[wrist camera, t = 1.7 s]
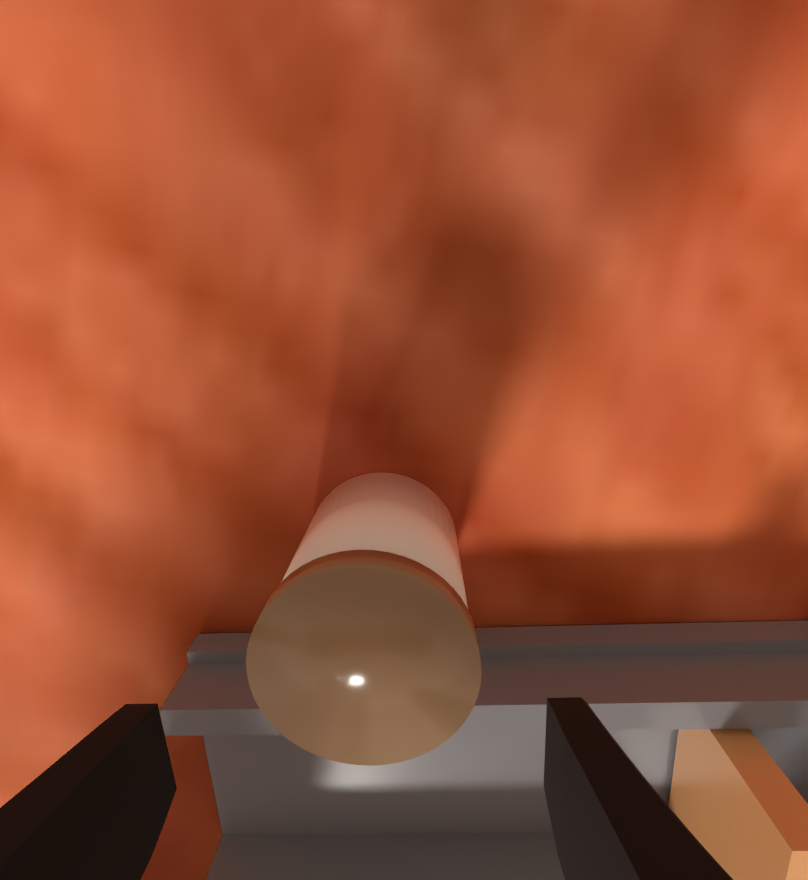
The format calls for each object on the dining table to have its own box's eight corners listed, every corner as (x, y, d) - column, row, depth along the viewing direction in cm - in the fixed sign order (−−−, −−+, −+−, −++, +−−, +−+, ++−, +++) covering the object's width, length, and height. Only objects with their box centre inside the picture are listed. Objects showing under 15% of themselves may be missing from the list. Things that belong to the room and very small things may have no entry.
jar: (315, 608, 18) (261, 766, 12) (300, 472, 16) (230, 572, 10) (460, 605, 17) (482, 764, 11) (457, 466, 16) (480, 565, 10)
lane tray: (236, 835, 21) (165, 1043, 15) (198, 633, 18) (94, 791, 12) (823, 833, 20) (993, 1054, 14) (877, 618, 17) (1114, 782, 11)
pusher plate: (665, 831, 18) (753, 1021, 13) (683, 691, 17) (792, 850, 12) (698, 831, 18) (798, 1021, 13) (719, 690, 16) (844, 851, 12)
